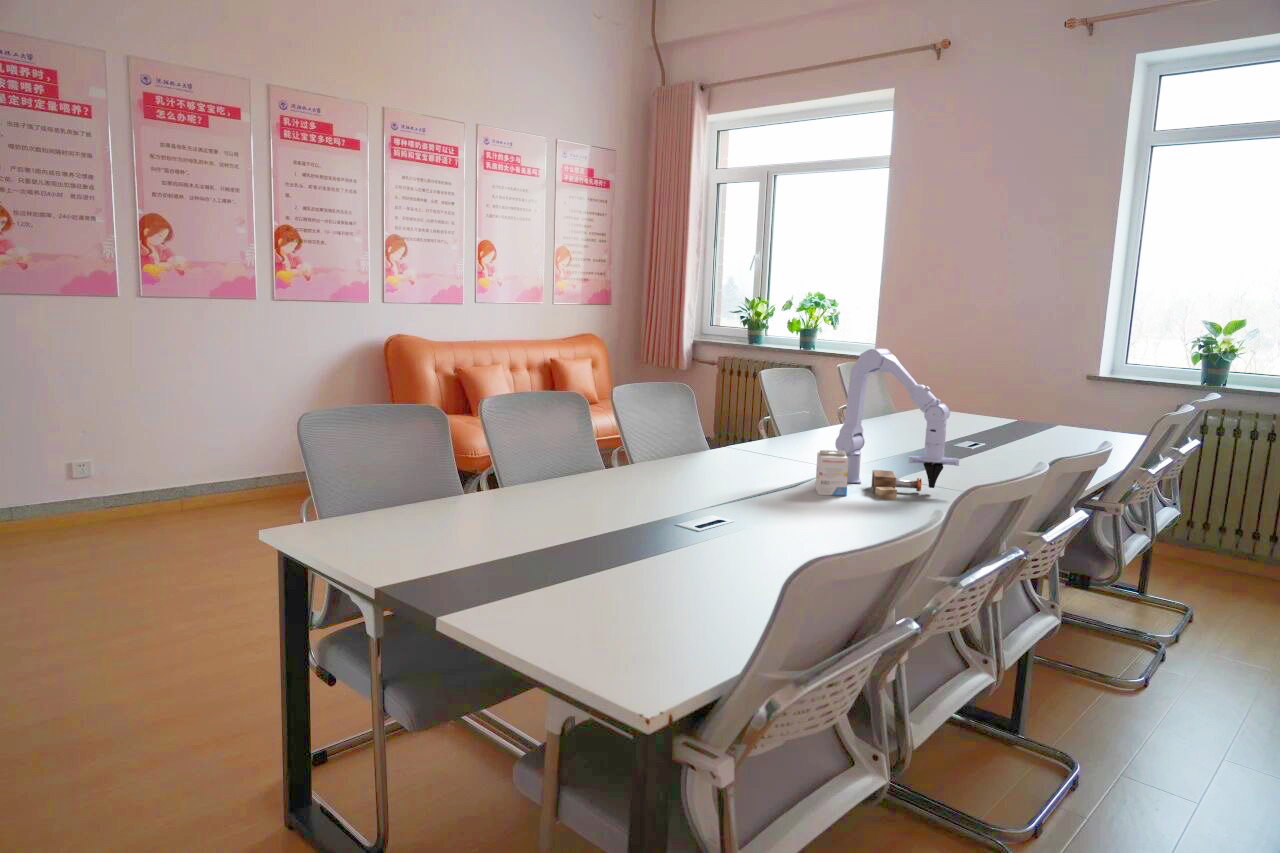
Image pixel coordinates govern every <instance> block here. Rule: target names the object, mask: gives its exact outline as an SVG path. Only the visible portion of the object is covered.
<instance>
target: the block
mask: <svg viewBox="0 0 1280 853" xmlns="http://www.w3.org/2000/svg"><path fill="white" fill-rule="evenodd" d="M897 494H898V490H897V489H896V488H895V489H894V488H893V487H876V488H875V494H874V497H876V498H877V497H878V498H877V499H879V500H897Z"/></svg>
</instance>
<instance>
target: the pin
mask: <svg viewBox="0 0 1280 853" xmlns="http://www.w3.org/2000/svg"><path fill="white" fill-rule="evenodd" d="M895 488H906V489H915V490H916V492H921V491H922V478H920V477H919V478H918V477H917V478H916V480H912V479H908V480H907V479H897V478H896V482H895Z"/></svg>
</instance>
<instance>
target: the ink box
mask: <svg viewBox="0 0 1280 853" xmlns="http://www.w3.org/2000/svg"><path fill="white" fill-rule="evenodd" d="M816 456H817V457H816V469H815V470H816V472H815V491H816V493H817V495H818V496H837V497H838V496H840V497H841V496H843V497H844V496H845V497H847V496H848V483H847V478H848V458H847V456H846V451H838V450H827V449H825V450H822V449H821V450H819V452H817V455H816Z"/></svg>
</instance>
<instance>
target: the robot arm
mask: <svg viewBox="0 0 1280 853" xmlns="http://www.w3.org/2000/svg"><path fill="white" fill-rule="evenodd" d="M876 371H881V372H883V373H888V374H891V375H892V376H893V377H894V378H895V379H896V380H897V381H898V382H899V383H900V385H902V387H904V388H905V389H906V390H907V391H908V397H909V399H910V400H911V402H913V403H914V404H915V406H916V407H918V409H919V410H920V411H921V412H922V413H924V414H923V415H924V419H925V421H926V428H925V440H924V451H923V452H924V453H923V455H908V460H907V462H908V464H913V463H914V464H922V465H923V467H924V470H925V473H926V476H927V482H928V488H929V489H930V488H931V489H935V486H936V483H937V480H938V477H939V475H940V474H941V472H942V471H943V470H944V466H945V465H946V466H956V467H959V466H960V459H959V458H954V457H946V456H945V448H946V447H945V446H946V436H947V423H948V422H947V420H948V419H949V417H950V415H951V414H950V413H951V411H950V408H949V407H948V405H947V404H946V403H943V402H941V401H942V400H941V399H940V398H937V397H936V396H935V395H934V394H933V393H932V392H931V388H930V386H928V385H927V386H925V385H924V384H918V382H917V381H916V380H915V379H914V378H913V376H912V375H911V374H910V373H909V372H908V370H906V368H905V367H904V366H903V365H902V364H901V362H900V361H899V360H898V358H897V357H896V355H894V354H892V352H891V351H890V350H889V349H888V348H885V347H881V348H880V347H879V348H869V349H867V350H865V351H863V352H862V353H860V355H859V357H858V359H857V360H856V361H855V363H854V364H853V366H852V367H851V369H850V375H849V383H848V389H847V390H848V392H847V399H846V407H845V413H844V414H845V416H844V424H843V425H842V426H841V428H840V429H839V434H838V436H837V437H836V439H835V445H834V446H835V449H836V451H846V456H847V458H848V478H847V484H848V483H849V484H850V483H852V484H861V483H862V481H861V477H860V470H861V456H862V454H861V453H862V452H861V450H862V449H863V447H864V445H865V443H866V441H865V437H864V429H863V426H862V420H863V413H864V405H865V398H866V397H865V396H866V390H867V383H868V382H867V381H868V377H869V376H870V375H872V374H874V372H876Z"/></svg>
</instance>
